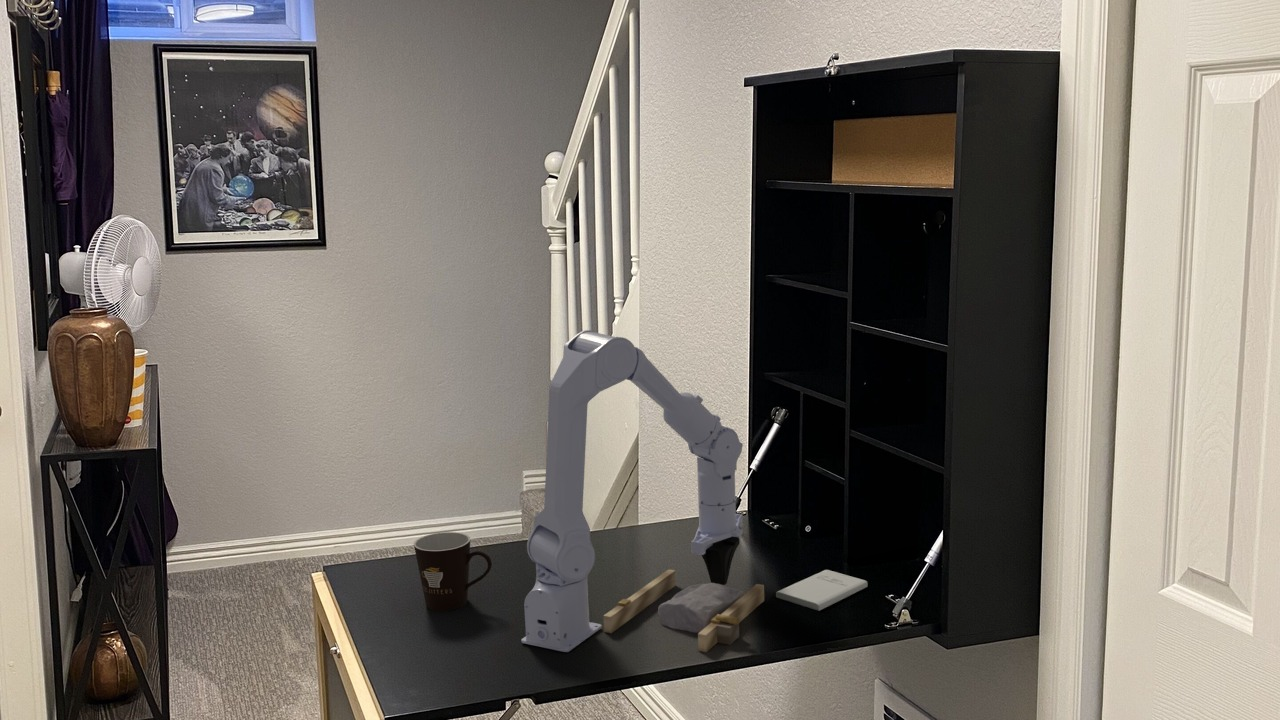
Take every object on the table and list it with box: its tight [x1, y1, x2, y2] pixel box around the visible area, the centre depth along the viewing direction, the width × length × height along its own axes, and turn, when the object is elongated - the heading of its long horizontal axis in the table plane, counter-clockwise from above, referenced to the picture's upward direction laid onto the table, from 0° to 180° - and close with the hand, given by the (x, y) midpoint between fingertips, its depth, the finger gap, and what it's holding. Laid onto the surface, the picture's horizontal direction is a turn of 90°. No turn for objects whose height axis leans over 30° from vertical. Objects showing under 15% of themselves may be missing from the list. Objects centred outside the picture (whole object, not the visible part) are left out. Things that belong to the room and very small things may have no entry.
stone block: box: [657, 582, 745, 634], centre depth 173 cm, size 12×5×10 cm
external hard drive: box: [775, 569, 868, 612], centre depth 180 cm, size 2×8×12 cm
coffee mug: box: [413, 531, 493, 612], centre depth 180 cm, size 12×9×10 cm
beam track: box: [603, 569, 765, 653], centre depth 172 cm, size 20×19×4 cm
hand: (719, 583), depth 183 cm, fingers closed
